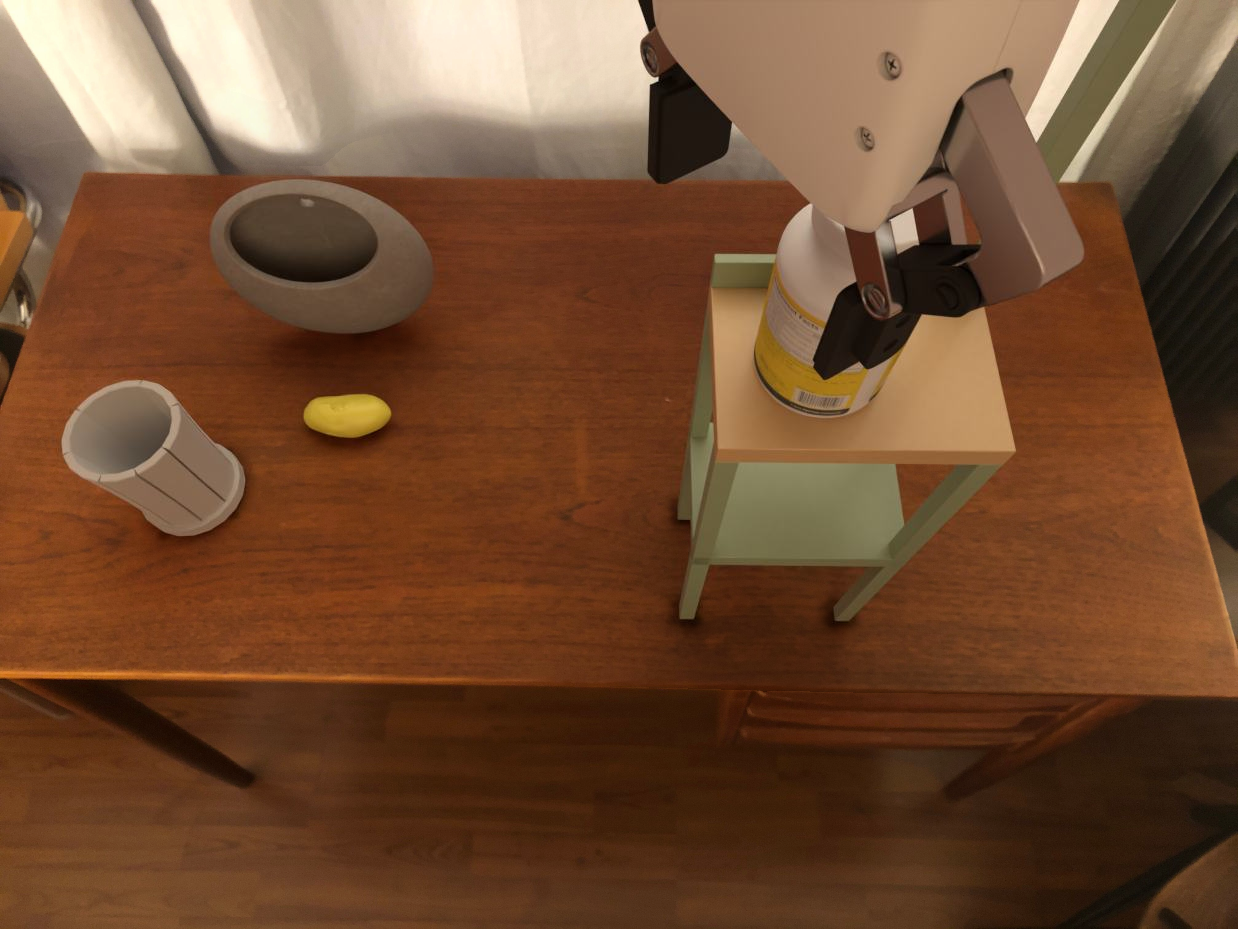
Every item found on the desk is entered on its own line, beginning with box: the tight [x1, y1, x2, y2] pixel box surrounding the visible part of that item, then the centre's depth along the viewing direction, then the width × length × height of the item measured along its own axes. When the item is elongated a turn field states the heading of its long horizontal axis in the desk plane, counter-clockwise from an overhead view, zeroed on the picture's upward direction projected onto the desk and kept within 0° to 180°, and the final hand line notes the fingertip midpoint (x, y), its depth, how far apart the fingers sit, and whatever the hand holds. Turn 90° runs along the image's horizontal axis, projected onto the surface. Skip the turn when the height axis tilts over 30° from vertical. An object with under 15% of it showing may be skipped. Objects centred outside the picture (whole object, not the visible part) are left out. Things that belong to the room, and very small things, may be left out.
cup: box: [60, 379, 246, 537], centre depth 66 cm, size 10×9×12 cm
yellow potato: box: [302, 393, 392, 439], centre depth 72 cm, size 4×8×4 cm, turn 87°
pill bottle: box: [754, 202, 922, 418], centre depth 34 cm, size 6×6×12 cm
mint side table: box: [677, 0, 1177, 622], centre depth 43 cm, size 10×14×55 cm
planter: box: [209, 178, 435, 334], centre depth 71 cm, size 18×7×19 cm, turn 94°
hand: (765, 254), depth 28 cm, fingers open, 9 cm apart
